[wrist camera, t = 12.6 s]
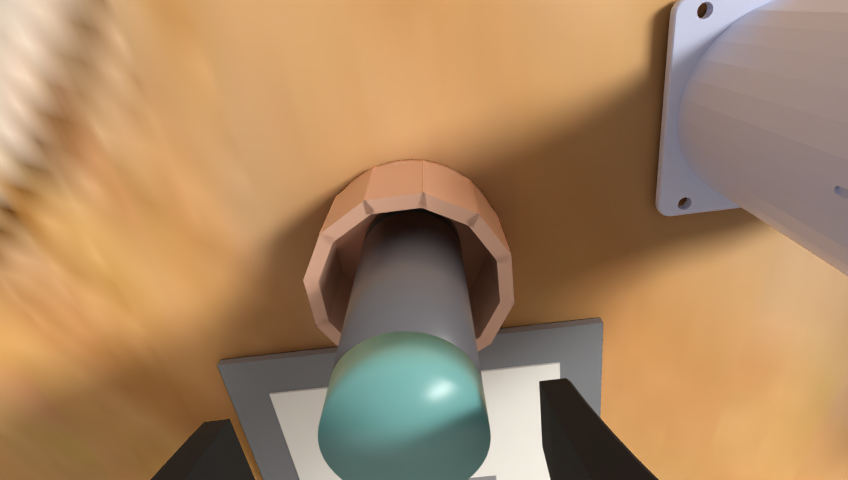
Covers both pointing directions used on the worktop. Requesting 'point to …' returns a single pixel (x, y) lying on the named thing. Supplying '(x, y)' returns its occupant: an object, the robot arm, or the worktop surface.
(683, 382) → the worktop surface
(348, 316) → the marker
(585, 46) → the worktop surface
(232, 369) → the writing mat
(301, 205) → the worktop surface
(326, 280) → the pen cup
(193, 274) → the worktop surface
